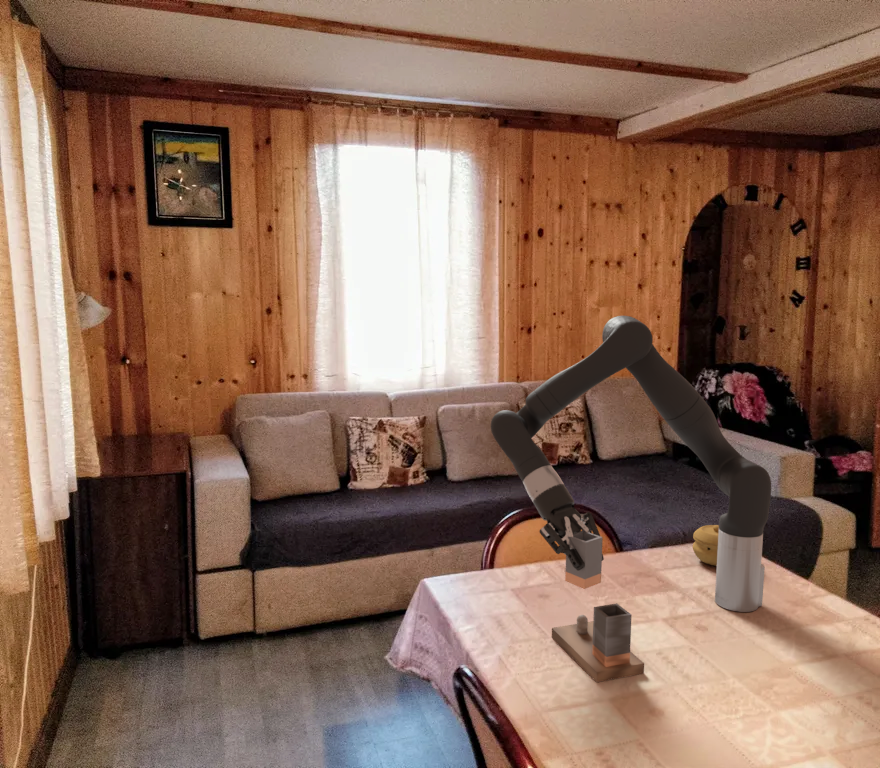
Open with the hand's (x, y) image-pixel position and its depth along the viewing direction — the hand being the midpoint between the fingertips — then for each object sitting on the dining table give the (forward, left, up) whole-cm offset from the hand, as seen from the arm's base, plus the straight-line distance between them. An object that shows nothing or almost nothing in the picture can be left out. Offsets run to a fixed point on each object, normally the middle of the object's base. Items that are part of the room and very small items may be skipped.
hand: (590, 564), depth 145 cm
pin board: (+1, +4, -17) cm, 17 cm away
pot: (-53, -28, -17) cm, 63 cm away
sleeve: (+1, -2, -4) cm, 4 cm away
